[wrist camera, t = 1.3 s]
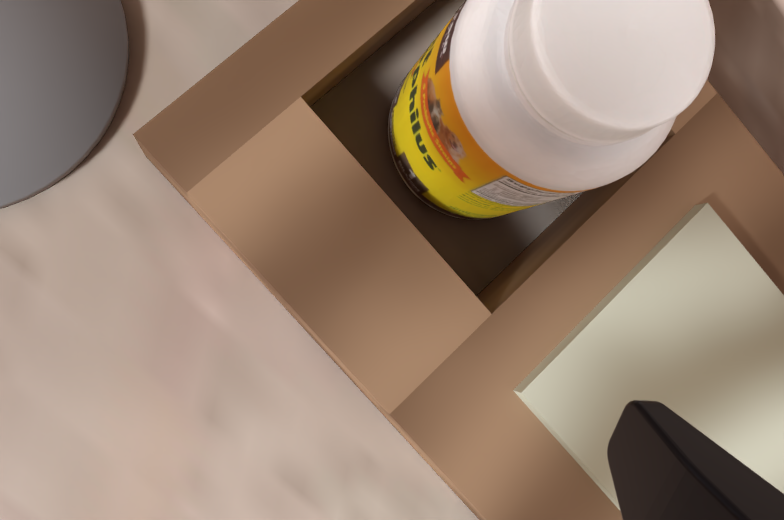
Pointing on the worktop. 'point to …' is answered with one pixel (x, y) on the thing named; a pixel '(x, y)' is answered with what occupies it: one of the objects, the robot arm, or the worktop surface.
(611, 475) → the robot arm
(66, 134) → the rubber mat
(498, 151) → the supplement bottle
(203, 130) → the puzzle board
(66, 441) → the worktop surface
